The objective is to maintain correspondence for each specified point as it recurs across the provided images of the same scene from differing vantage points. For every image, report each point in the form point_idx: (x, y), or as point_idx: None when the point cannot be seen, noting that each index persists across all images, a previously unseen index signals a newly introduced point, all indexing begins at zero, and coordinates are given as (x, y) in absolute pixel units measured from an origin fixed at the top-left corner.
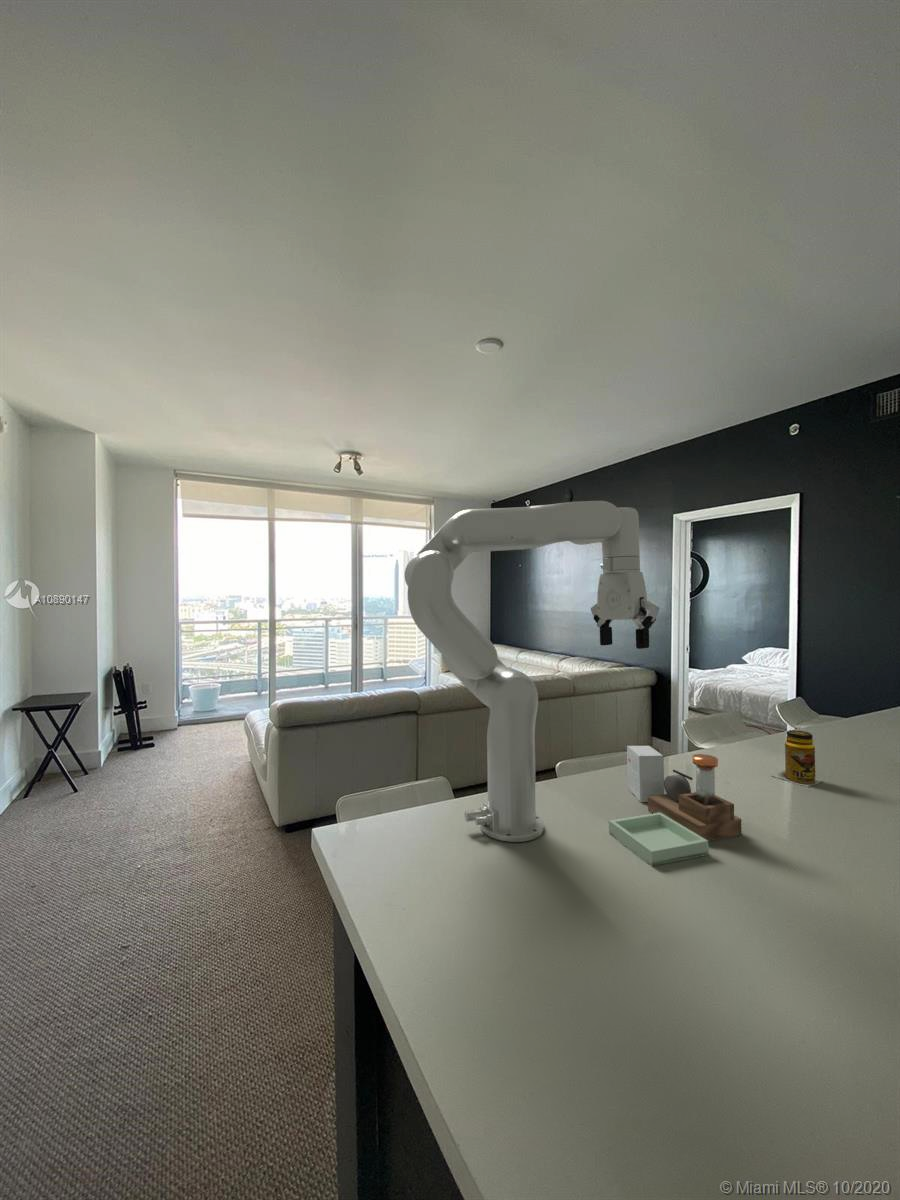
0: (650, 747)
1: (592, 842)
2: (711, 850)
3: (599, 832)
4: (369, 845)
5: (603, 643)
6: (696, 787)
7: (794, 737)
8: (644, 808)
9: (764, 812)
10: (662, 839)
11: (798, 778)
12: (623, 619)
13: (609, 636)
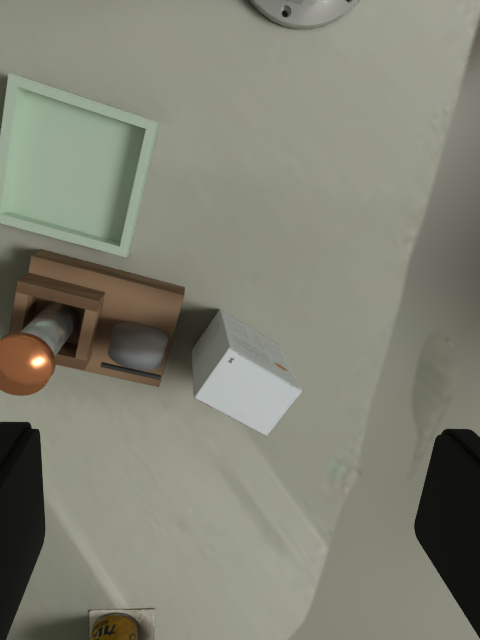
0: (254, 425)
1: (151, 57)
2: (10, 239)
3: (174, 111)
4: None
5: (444, 445)
6: (58, 324)
7: None
8: (196, 291)
9: (63, 458)
10: (73, 186)
11: (106, 622)
12: None
13: (461, 562)
